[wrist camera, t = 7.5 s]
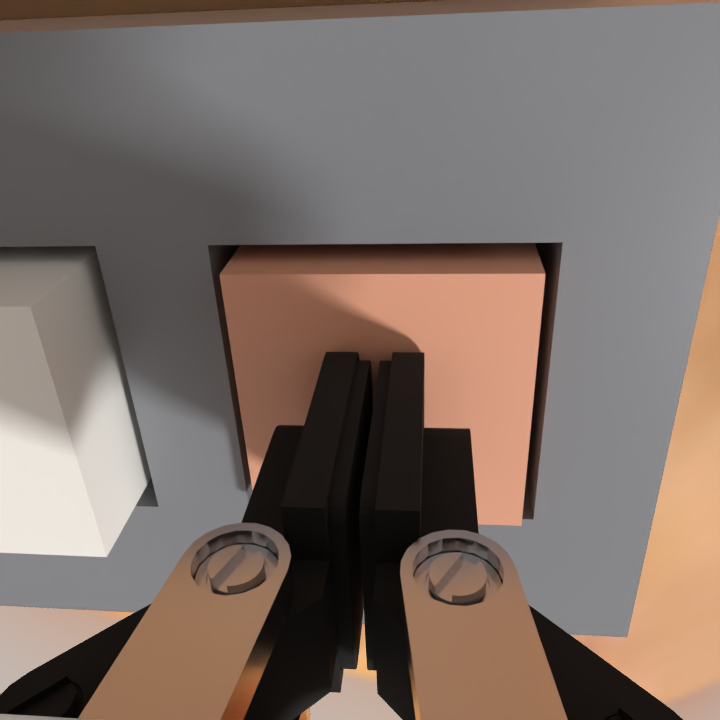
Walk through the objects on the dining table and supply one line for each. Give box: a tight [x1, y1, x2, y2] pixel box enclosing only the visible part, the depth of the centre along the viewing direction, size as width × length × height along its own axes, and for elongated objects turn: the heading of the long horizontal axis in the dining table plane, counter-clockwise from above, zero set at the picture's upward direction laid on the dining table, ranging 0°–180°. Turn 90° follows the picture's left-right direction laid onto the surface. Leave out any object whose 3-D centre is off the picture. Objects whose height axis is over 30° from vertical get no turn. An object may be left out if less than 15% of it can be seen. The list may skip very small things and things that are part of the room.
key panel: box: [0, 0, 720, 637], centre depth 15 cm, size 12×25×4 cm, turn 92°
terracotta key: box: [220, 243, 546, 526], centre depth 13 cm, size 5×5×3 cm
